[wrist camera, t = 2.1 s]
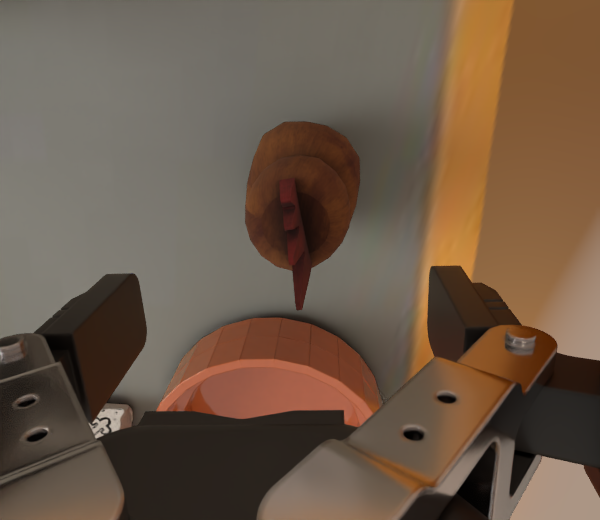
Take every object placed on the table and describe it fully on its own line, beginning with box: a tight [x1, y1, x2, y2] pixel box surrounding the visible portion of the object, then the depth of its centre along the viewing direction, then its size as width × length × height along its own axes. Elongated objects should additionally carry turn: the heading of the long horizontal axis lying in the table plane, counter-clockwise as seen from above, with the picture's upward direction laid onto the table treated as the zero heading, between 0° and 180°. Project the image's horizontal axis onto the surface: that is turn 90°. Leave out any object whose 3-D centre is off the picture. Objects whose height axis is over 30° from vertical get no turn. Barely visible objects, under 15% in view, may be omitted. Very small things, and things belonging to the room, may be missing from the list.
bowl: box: [156, 317, 382, 427], centre depth 34 cm, size 15×15×6 cm
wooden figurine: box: [245, 122, 360, 310], centre depth 24 cm, size 7×6×15 cm
